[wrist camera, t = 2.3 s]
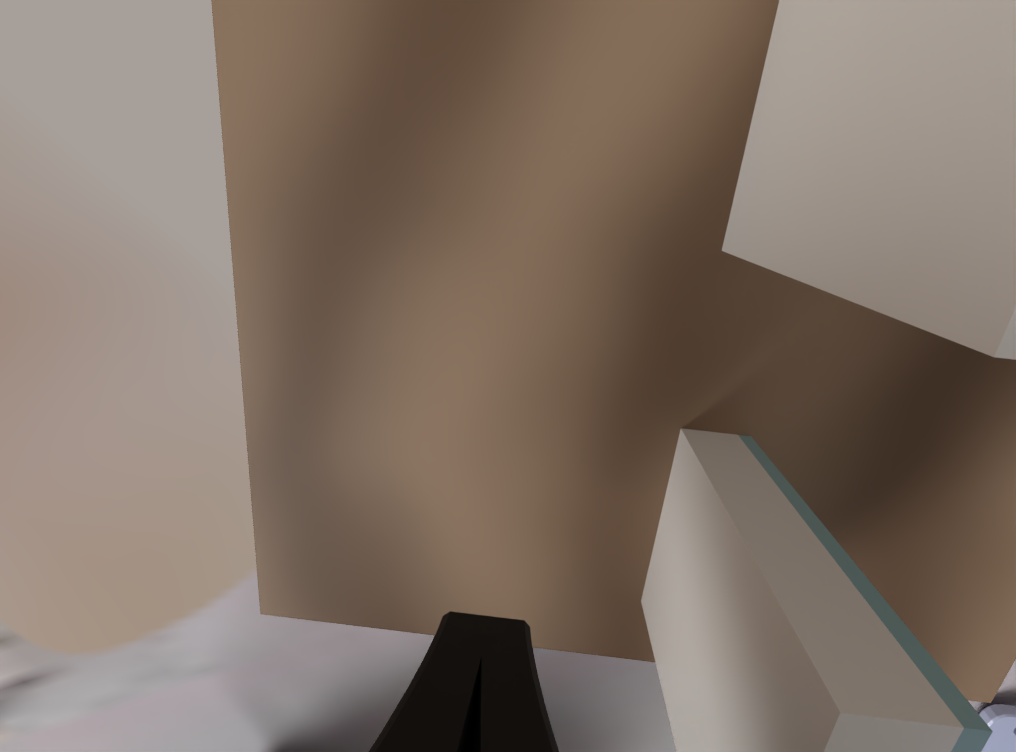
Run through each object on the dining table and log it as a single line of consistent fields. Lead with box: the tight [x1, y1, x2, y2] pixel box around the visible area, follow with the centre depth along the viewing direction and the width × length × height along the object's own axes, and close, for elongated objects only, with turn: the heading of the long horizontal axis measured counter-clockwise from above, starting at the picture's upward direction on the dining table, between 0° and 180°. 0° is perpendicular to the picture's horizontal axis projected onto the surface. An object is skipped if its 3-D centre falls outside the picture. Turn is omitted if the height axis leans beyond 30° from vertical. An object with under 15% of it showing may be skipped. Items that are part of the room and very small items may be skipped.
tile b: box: [722, 0, 1016, 360], centre depth 7 cm, size 2×5×7 cm, turn 174°
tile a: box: [641, 428, 993, 752], centre depth 10 cm, size 2×5×7 cm, turn 174°
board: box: [212, 0, 1016, 703], centre depth 12 cm, size 20×18×1 cm
